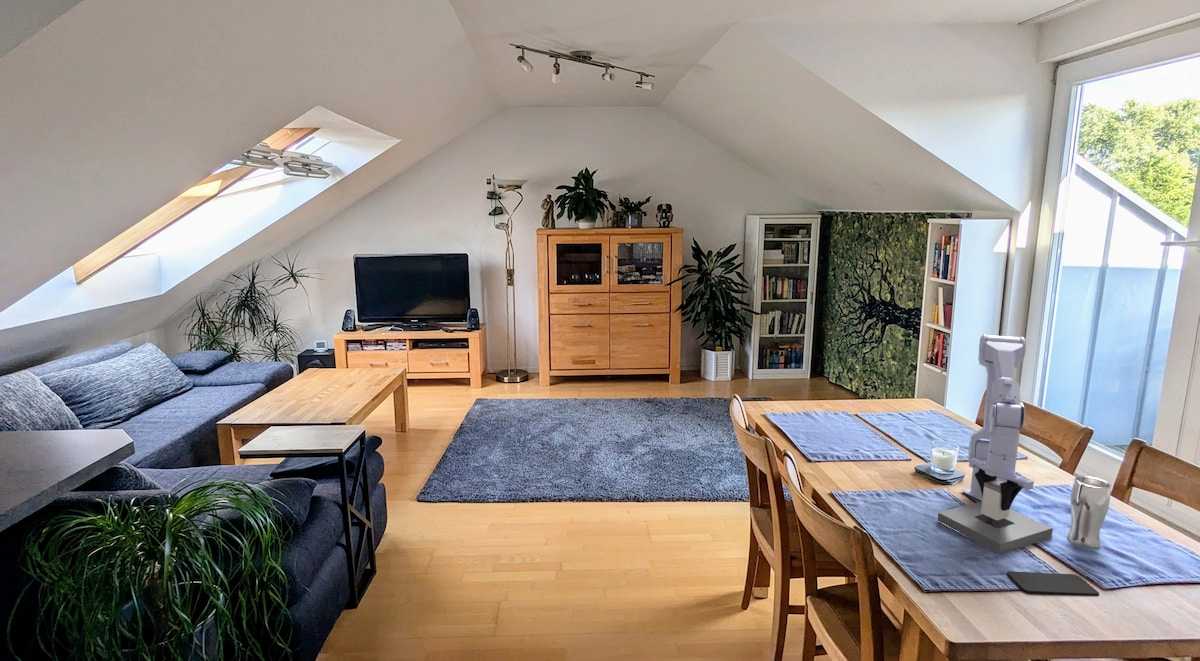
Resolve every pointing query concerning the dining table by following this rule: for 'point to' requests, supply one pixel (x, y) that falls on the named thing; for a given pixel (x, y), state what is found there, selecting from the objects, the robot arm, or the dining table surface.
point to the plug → (993, 501)
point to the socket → (1000, 540)
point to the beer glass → (1088, 510)
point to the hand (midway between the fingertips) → (995, 505)
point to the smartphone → (1051, 584)
